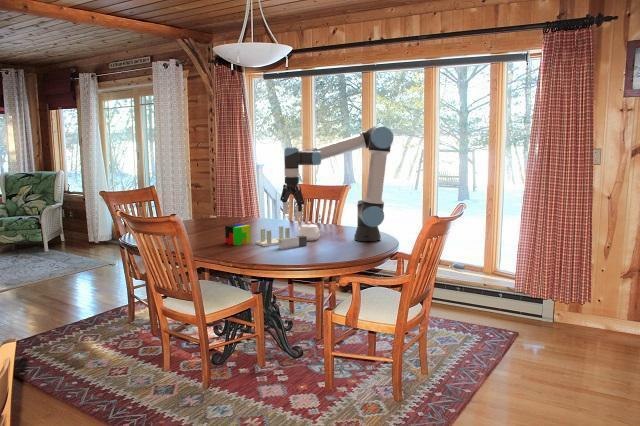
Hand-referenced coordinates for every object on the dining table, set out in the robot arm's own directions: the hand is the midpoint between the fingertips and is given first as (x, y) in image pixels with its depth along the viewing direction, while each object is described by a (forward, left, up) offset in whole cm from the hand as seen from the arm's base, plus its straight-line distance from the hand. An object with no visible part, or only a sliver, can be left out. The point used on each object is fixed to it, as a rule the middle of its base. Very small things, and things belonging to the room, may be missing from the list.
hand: (292, 215), depth 281 cm
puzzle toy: (+26, +19, -17) cm, 37 cm away
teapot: (+10, -19, -17) cm, 28 cm away
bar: (0, 0, -17) cm, 17 cm away
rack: (+14, +2, -17) cm, 22 cm away
